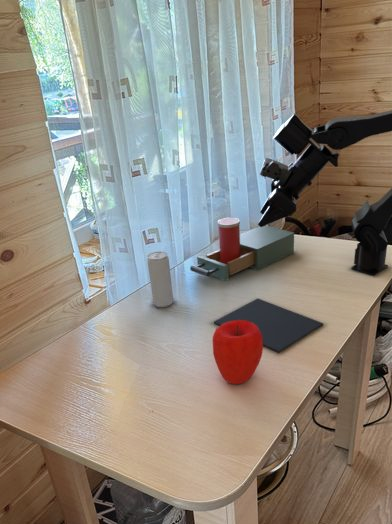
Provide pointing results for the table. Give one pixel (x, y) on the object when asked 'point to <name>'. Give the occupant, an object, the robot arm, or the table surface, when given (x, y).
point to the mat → (273, 323)
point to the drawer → (221, 270)
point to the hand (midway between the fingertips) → (260, 219)
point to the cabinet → (267, 244)
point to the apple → (237, 350)
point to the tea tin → (229, 239)
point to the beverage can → (160, 278)
